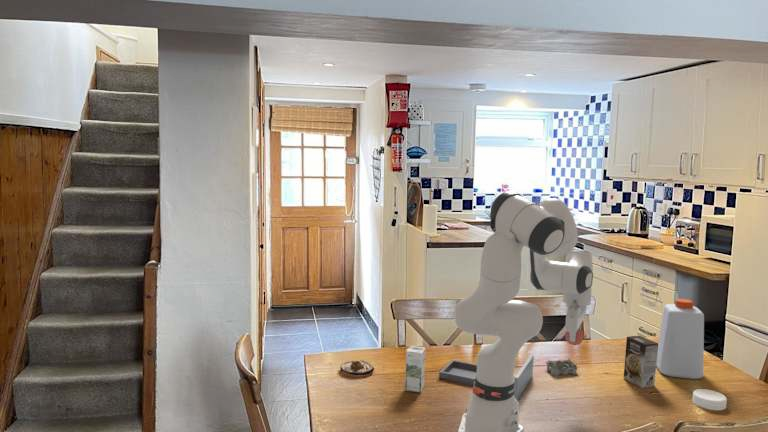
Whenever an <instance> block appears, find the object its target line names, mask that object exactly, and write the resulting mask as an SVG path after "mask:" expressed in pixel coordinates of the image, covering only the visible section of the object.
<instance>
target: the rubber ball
mask: <svg viewBox="0 0 768 432" xmlns="http://www.w3.org/2000/svg"><path fill="white" fill-rule="evenodd" d="M564 338H565V341H566V342H567V343H568V344H569V345H572V346H578V345H580V344H581V343H582V342H584V339H585V335H584V332H583V331H582V329H579V328H578V330H577V332H576V340H575V342H571V341H570V335H569V331H566V330H565V332H564Z"/></svg>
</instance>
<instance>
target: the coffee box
mask: <svg viewBox="0 0 768 432" xmlns="http://www.w3.org/2000/svg"><path fill="white" fill-rule="evenodd" d="M625 343H626V344H625V355H624V368H623V379H624V380H626V381H627V382H629V383H631V384H633V385H636V386H637V387H639V388H642V389H643V388H649V387H655V382H656V373H657V372H656V371H657V366H656V363H657V353H658V342H656V341H653V340H651V339H648V338H646V337H644V336H642V335H631V336H627V337H626V342H625Z"/></svg>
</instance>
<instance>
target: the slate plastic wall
mask: <svg viewBox="0 0 768 432" xmlns="http://www.w3.org/2000/svg"><path fill="white" fill-rule="evenodd" d="M533 375H534V355H533V354H529V356H528V358H527V359H526V361H525V362H524V363H523V364H522V366H521V368H520V369H519V370H518V372H517V373H516V374H515V375H514V381H515V392H514V397H515V398H516V400H517V401H518V400H519V399H520V397H521V396H522V393H523V392H524V390H525V389H526V387H527V386H528V384H529V383H530V381H531V380H532V378H533Z"/></svg>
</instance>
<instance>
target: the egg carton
mask: <svg viewBox="0 0 768 432" xmlns="http://www.w3.org/2000/svg"><path fill="white" fill-rule="evenodd" d="M545 364H546V371H547V372H550V373H551V375H553V376H560V375H565V376H567V375H569V374H572V375H576V374H577V371H578V369H579V368H580V367H579V366H578V365H577V364H575V363H574V361H572V360H571V359H570V358H568V359H565V360H561V359H559V360H554V361H553V360H547V361H546V362H545Z"/></svg>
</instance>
